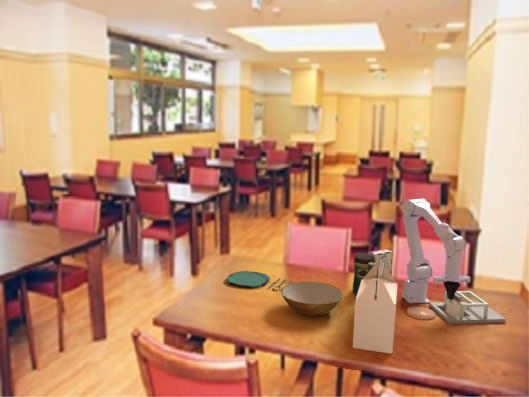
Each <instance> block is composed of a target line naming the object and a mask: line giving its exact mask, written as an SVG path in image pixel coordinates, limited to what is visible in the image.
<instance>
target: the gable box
mask: <svg viewBox="0 0 529 397" xmlns="http://www.w3.org/2000/svg"><path fill="white" fill-rule="evenodd" d="M385 261H386V260H385ZM385 261H384V262H383V264H381V257H380V259H379V263H378V264H375V265H374V266H373V267H372V269H371V270H370V271H369V272H368V273H367V275H366V276H365V277H364V278H363V279H362V280H361V283H360V287H359V290H358V293H357V295H356V297H355V301H354V302H355V303H354V304H355V306H354V316H353V317H354V318H353V333H352V335H353V337H352V349H356V350H357V349H359V350H365V351H371V352H375V353H376V352H378V353H385V354H390V355H391V354H393V351H394V350H393V349H394V339H395V338H394V335H395V325H396V324H395V322H396V310H397V296H398V283H397V282H396V280H395V279H394V277H393V275H392V273H391V274H390V272H389V270H388V269H387V267H386V266H385Z"/></svg>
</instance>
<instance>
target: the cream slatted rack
mask: <svg viewBox="0 0 529 397" xmlns="http://www.w3.org/2000/svg"><path fill="white" fill-rule="evenodd" d="M472 298H473V299H475V301H479V302H480V303H474V302H475V301H473V300H471V299H472ZM462 299H463V300H464V302H467V304H463V303H462V302H463V301H462ZM447 300H449V299H448V298H447V292H446V291H444V299H443V302H444V304H447ZM453 301H455V302H456V303H457V304H459V305H460V306H461V307H460V317H463V316H465V315H464V307H484V316H485V317H487V316H488V307H490V305H489V303H488V302H486V301H485V300H483V299H482V298H480V297H479V296H478V295H477V294H475V293H473V292H472V291H471V290H470V291H469V290H461V291H458V290H457V291H456V293H455V295H454V297H453Z"/></svg>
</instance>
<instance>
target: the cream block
mask: <svg viewBox="0 0 529 397" xmlns="http://www.w3.org/2000/svg"><path fill="white" fill-rule="evenodd" d="M460 307H461V306H460V305H459V304H457V303H456V302H455V301H453V300H449V299H448V300H447V305H446V309H445V314H447V315H448V316H449V317H455V316H460Z"/></svg>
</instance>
